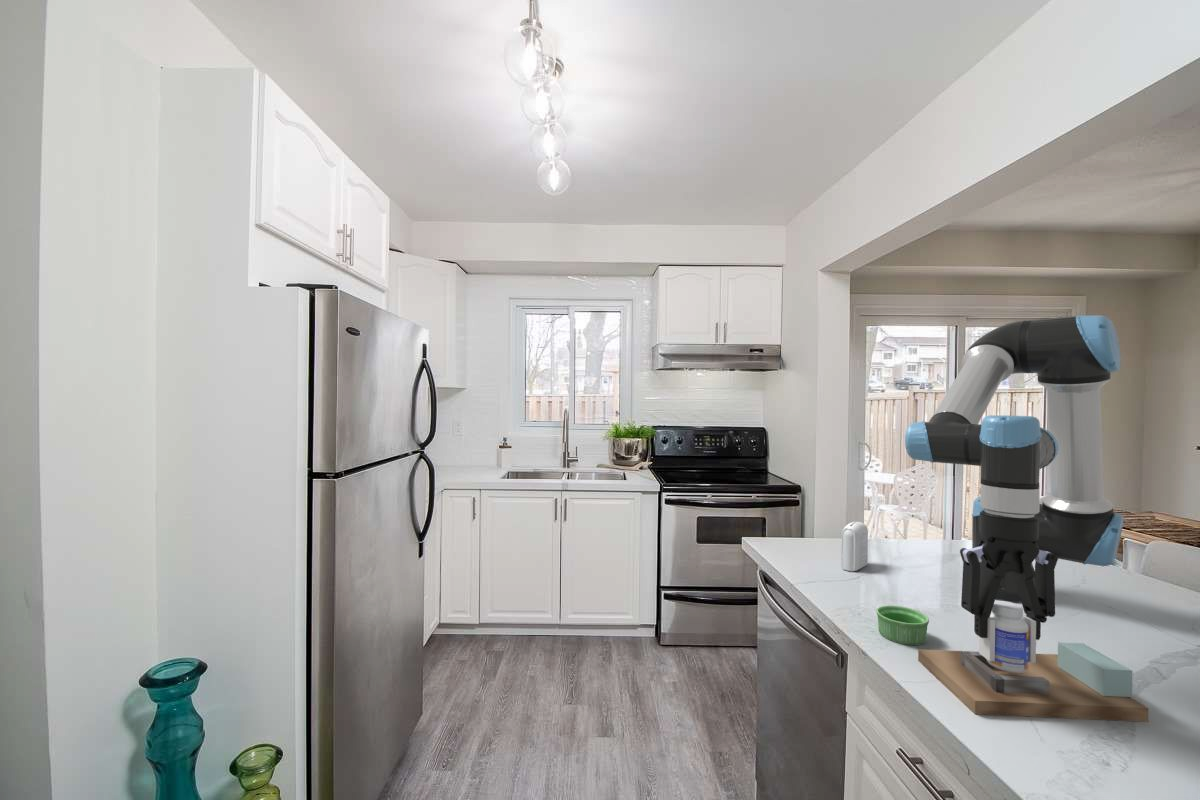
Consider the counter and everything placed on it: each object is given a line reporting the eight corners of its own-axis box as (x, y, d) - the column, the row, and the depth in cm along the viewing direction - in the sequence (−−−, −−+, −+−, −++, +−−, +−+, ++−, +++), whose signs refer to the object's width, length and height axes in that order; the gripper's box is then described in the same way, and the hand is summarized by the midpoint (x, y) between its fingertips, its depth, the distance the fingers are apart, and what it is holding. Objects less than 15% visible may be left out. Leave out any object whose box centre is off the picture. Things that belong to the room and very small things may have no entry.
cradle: (1060, 666, 94) (1061, 643, 94) (1148, 721, 78) (1148, 694, 78) (918, 660, 95) (918, 638, 95) (975, 714, 79) (975, 687, 79)
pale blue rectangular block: (1083, 667, 89) (1083, 643, 89) (1132, 697, 80) (1132, 670, 80) (1057, 666, 89) (1057, 642, 89) (1103, 695, 80) (1104, 669, 80)
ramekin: (907, 650, 99) (907, 627, 99) (865, 631, 107) (865, 609, 107) (939, 642, 103) (939, 619, 103) (897, 623, 111) (897, 602, 111)
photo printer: (853, 561, 152) (854, 518, 152) (869, 564, 149) (870, 520, 149) (839, 569, 145) (839, 523, 145) (855, 573, 142) (856, 526, 142)
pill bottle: (1036, 676, 82) (1037, 613, 82) (996, 672, 83) (997, 610, 83) (1016, 659, 88) (1017, 600, 88) (979, 655, 89) (980, 597, 89)
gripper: (1051, 508, 88) (1049, 649, 89) (935, 506, 90) (933, 644, 90) (1089, 519, 81) (1087, 672, 81) (962, 516, 82) (960, 667, 82)
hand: (1006, 657), depth 86 cm, fingers closed on pill bottle, 5 cm apart
